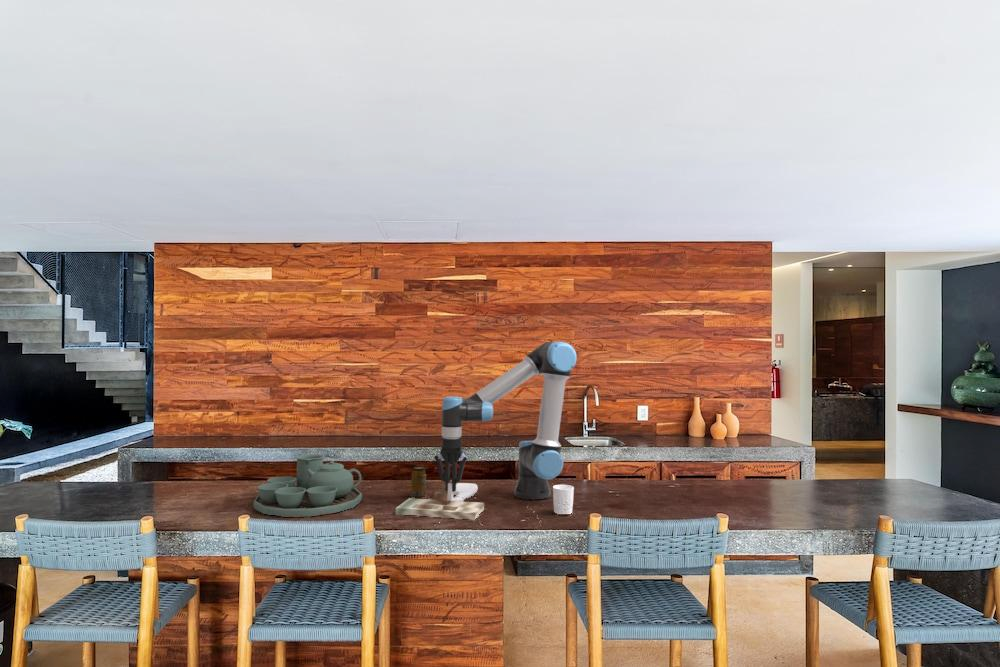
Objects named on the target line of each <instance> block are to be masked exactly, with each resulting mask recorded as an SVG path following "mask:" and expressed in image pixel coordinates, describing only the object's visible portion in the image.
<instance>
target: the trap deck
mask: <svg viewBox="0 0 1000 667" xmlns="http://www.w3.org/2000/svg"><path fill="white" fill-rule="evenodd" d="M484 510H485V502H478V501H477V502H475V501H464V502H463V501H450V503H449V504H448V505H438V504H434V499H432V498H428V499H416V498H410V497H408V499H406V500H405V501H403V502H402V503H401V504H399V505H397V507H395V516H404V515H417V516H416V517H419V516H429V517H428V518H433V517H441V518H440V519H448V518H454V519H453V520H462V519H469V520H468V521H476V520H477V519H478V518H479V517H480V515H481V514H482V513H483V511H484ZM481 512H482V513H481ZM480 513H481V514H480ZM479 514H480V515H479ZM476 518H477V519H476ZM475 519H476V520H475Z"/></svg>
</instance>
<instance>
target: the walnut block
mask: <svg viewBox="0 0 1000 667" xmlns="http://www.w3.org/2000/svg"><path fill="white" fill-rule="evenodd" d="M433 500H434V504H438V505H448V504H449V503H450V501H448V491H446V490H436V492H434V495H433Z"/></svg>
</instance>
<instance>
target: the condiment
mask: <svg viewBox="0 0 1000 667" xmlns="http://www.w3.org/2000/svg"><path fill="white" fill-rule="evenodd" d="M410 478H411V481H410V482H411V483H410V484H411V486H410V495H411V497H415V498H422V497H425V495H426V494H427V493H426V492H427V474H426V467H424V466H414V467H412V474H411V476H410ZM426 496H427V495H426ZM425 498H426V497H425Z"/></svg>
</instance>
